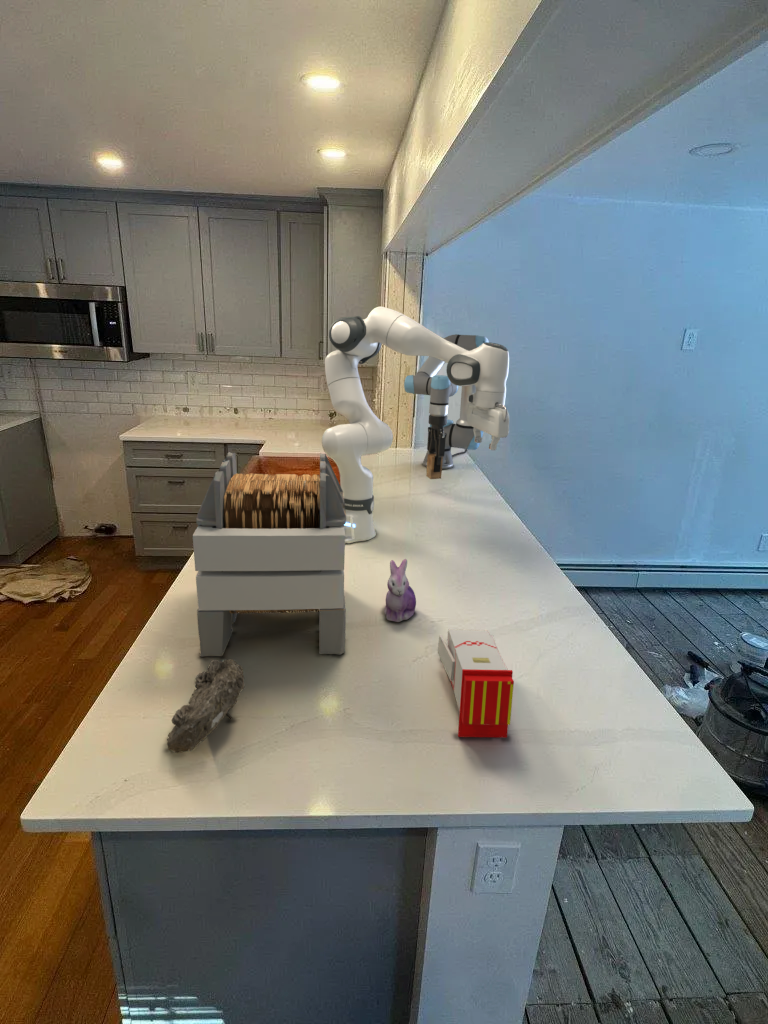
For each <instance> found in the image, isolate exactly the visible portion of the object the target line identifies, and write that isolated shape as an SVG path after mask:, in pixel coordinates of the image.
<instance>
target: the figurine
mask: <svg viewBox="0 0 768 1024" xmlns="http://www.w3.org/2000/svg"><path fill="white" fill-rule="evenodd" d="M407 567H408V559H406V558H404V559H403V560H402V561H401V563H400V565H399V566H398V565H397V563H396V562H395V561H394V560H393V559H391V560H390V561H389V570H390V576H389V578H388V579H387V589H388V591H387V592H386V594H385V595H386V596H385V607H384V615H385V616H386V620H387V621H391V622H395V623H400V622H402V621H406V620H409V619H410V618H411V617H413V616H414V615H415V610H416V606H417V597H416V593H415V591H414V590H413V587H411V586H410V582H409V579H408V577H407V574H406V571H407Z"/></svg>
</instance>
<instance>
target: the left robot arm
mask: <svg viewBox="0 0 768 1024" xmlns="http://www.w3.org/2000/svg"><path fill="white" fill-rule="evenodd" d="M328 338H329V341H330V344H331V345H332V346H333V347H334V348H335V350H333V351H331V352H329V353H328V354H327V355H326V357H325V359H324V373H325V381H326V385H327V388H328V394H329V397H330V402H331V406H332V408H333V410H334V411H335V412H336V413H337V414H338V415H341V417H342V416H343V417H344V418H345V419H346V420H347V421H348V423H342V424H341V423H340V424H337V425H333V426H331V427H328V428H327V429H325V430H324V432H323V433H322V436H321V447H322V450H323V452H324V454H326V456H327V457H329V458H330V459H332V461H333V462H334V463H335V465H336V466H337V470H338V473H339V484H340V486H341V489H342V491H343V496H344V503H345V511H346V523H345V524H344V530H345V544H352V543H357V542H365V541H368V540H372V539H373V538H375V537H376V535H377V532H376V528H375V523H374V513H373V512H374V509H375V496H374V474H373V472H372V471H371V469H369V468H368V467H366V466H364V465H362V457H364V456H370V455H371V456H373V455H378V454H380V453H384V452H385V451H388V450H389V449H390V448H391V446H392V444H393V440H394V435H393V431H392V429H391V427H390V426H389V425H388V424H387V423H386V422H384V421H382V420H381V418H379V417H378V416H377V415H376V414H375V412H374V411H373V410H372V409H371V406H369V403H368V401H367V399H366V395H365V392H364V389H363V385H362V381H361V377H360V373H359V370H358V366H359V365H364V364H365V363H366V362H367V361H368V360H371V359H372V358H374V357H375V356H377V354H378V353H379V352H380V350H381V348H382V345H383V346H385V347H387V348H389V349H390V350H392V351H394V352H396V353H399V354H401V355H405V356H411V357H414V356H415V357H417V356H419V357H429V356H430V357H435V358H438V359H440V360H442V361H444V362H446V363H445V364H446V369H445V371H446V376H448V378H449V380H450V381H451V382H452V383H453V384H455V385H458V387H462V386H468V385H475V386H476V393H473V394H470V395H468V402H469V404H468V411H467V422H468V425H470V426H472V427H474V429H473V431H474V436H475V440H474V441H475V442H476V443H480V444H481V443H482V442H483V441H482V440H483V436H482V437H481V431H483V433H484V434H485V433H486V434H488V435H490V436H491V437H490V439H491V441H490V443H489V445H488V449H489V450H490V451H496V450H497V447H498V444H499V443H500V440H501V439H504V438H505V439H506V438H508V436H509V433H510V413H509V411H508V409H507V406H506V396H507V385H506V384H507V379H508V377H509V370H510V369H509V368H510V353H509V349H508V348H507V347H506V346H504V345H502V344H499V343H495V342H490V341H489V342H486V343H483V344H482V345H481V346H479V347H477V348H475V349H473V350H467V349H465V348H463V347H461V346H459V345H457V344H455V343H453V342H450V341H448V340H446V339H444V338H445V337H443V336H441V335H439V334H437V333H436V332H434V331H432V330H430V329H429V328H427V327H426V326H424V325H423V324H421V323H420V322H418V321H416V320H415V319H413V318H411V317H410V316H408V315H406V314H404V313H402V312H400V311H398V310H395V309H392V308H390V307H386V306H376V307H374V308H373V309H372V310H371V311H370V312H369V313H368V315H367V317H365V318H364V319H363V318H362V317H361V316H360V315H355V316H344V317H338V318H337V319H335V320H334V321H333V322H332V323H331V325H330V327H329V331H328Z"/></svg>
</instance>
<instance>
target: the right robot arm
mask: <svg viewBox="0 0 768 1024" xmlns="http://www.w3.org/2000/svg"><path fill="white" fill-rule="evenodd" d="M443 338H444V339H446V340H448V341H450V342H453V343H455V344H457V345H459V346H461V347H463V348H465V349H467V350H473V349H475V348H477V347H479V346H481V345H482V344H483V343H486V342H490V341H489V338H488V337H486V336H484V335H476V334H475V335H474V334H457V333H455V334H450V335H447V336H446V337H443ZM445 364H447V363H446V362H444V361H442V360H440V359H438V358H435V357H430V356H427V359H426V360H425V361H424V362H423V364H422V365H421V366H420V368H419V369H418V371H417V372H416V373H415V375H414V374H409V375H406V376H405V378H404V383H403V388H404V392H405V393H406V394H413V395H420V396H421V395H423V396H430V397H429V406H428V407H429V408H428V414H429V415H428V424H429V426H427V444H426V454H425V455H424V458H423V464H422V465H423V466H424V467H426V468H427V458H428V454H436V456H434V457H435V458H434V471H433V472H440V467H441V457H443V462H442V470H448V469H452V468H453V467H454V460H453V457H455V456H458V455H463V454H466V453H467V452H468V450H470V451H471V450H472V451H476V450H477V449H478V448H479V447H480V445H481V443H476V442H475V441H474V440H475V436H474V431H473V429H474V427H472V426H470V425H468V422H467V411H468V404H469V402H468V395H470V394H473V393H476V386H475V385H468V386H461V394H460V407H459V418H458V419H457V420H456V421H455V423H454V420H453V419H448V414H449V413H448V412H449V409H450V407H449V404H450V403H449V401H450V398H451V397H453V396H455V395H456V394H457V393H458V391H459V388H460V386H458V385H455V384H453V383H452V382H451V381H450V380H449V378H448V376H447V375H443V374H439V372H440V371H441V370H442V368H443V367H444V365H445ZM483 436H484V432H483V431H481V437H482V438H483ZM452 448H455V449H464V451H461V452H456V453H454V454H452Z"/></svg>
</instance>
